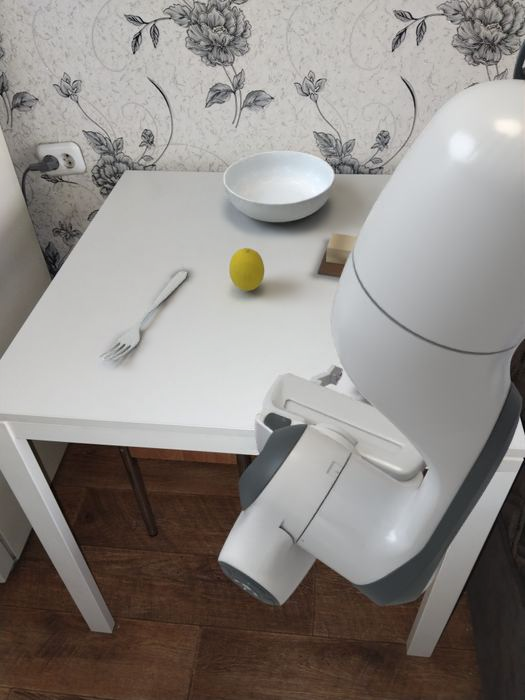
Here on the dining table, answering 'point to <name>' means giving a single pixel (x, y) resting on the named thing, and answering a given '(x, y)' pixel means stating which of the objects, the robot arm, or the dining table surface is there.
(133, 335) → the fork
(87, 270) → the dining table surface
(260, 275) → the lemon
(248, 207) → the serving bowl
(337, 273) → the word board
